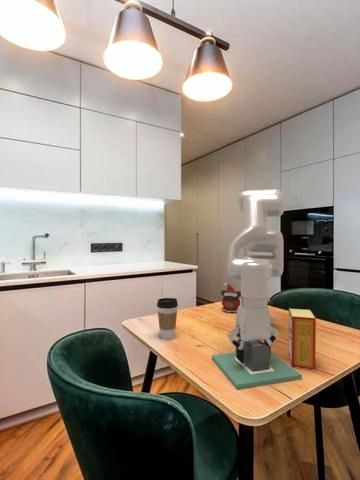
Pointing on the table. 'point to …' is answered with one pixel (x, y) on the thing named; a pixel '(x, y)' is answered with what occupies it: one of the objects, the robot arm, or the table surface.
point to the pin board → (247, 378)
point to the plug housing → (256, 356)
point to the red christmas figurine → (230, 298)
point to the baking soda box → (302, 338)
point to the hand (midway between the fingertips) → (253, 358)
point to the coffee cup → (167, 317)
